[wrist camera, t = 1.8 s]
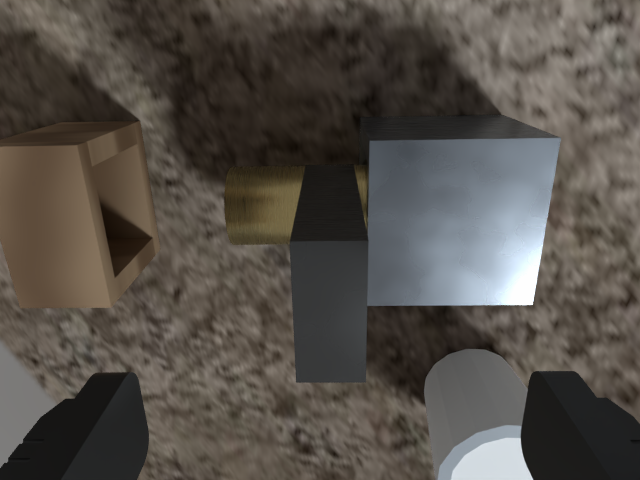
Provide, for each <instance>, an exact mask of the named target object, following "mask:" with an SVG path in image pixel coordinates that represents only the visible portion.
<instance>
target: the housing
mask: <svg viewBox="0 0 640 480" xmlns="http://www.w3.org/2000/svg"><path fill="white" fill-rule="evenodd" d="M560 140H561V138H560V137H558V136H555V135H552V134H550V133H547V132H545V131H542V130H540V129H537V128H535V127H532V126H530V125H527V124H525V123H522V122H520V121H517V120H515V119H512V118H510V117H507V116H504V115H456V116H397V117H360V143H359V165H368V166H367V221H366V230H367V235H368V240H369V246H368V294H367V306H425V305H533V299H534V293H535V287H536V281H537V275H538V269H539V264H540V258H541V252H542V246H543V240H544V234H545V228H546V222H547V217H548V211H549V205H550V199H551V193H552V187H553V181H554V175H555V169H556V164H557V158H558V152H559V146H560Z"/></svg>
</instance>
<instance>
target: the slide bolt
mask: <svg viewBox="0 0 640 480" xmlns="http://www.w3.org/2000/svg"><path fill="white" fill-rule="evenodd" d="M367 166H368V165H354V164H351V165H306V166H251V167H230V168H229V170H228V173H227V177H226V183H225V200H224V203H225V220H226V228H227V233H228V237H229V240H230V242H231V243H232V244H233V245H261V244H290V260H291V281H292V302H293V324H294V345H295V366H296V382H366V343H367V294H368V246H369V240H368V235H367V230H366V221H367Z"/></svg>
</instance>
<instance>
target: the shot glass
mask: <svg viewBox="0 0 640 480" xmlns="http://www.w3.org/2000/svg"><path fill="white" fill-rule="evenodd" d="M527 391H528V389H527V387H526V386H525V385H524V383H523V382H522V381H521V379H520V378H519V377H518V375H517V374H516V373H515V371H514V370H513V368H512V367H511V366H510V365H509V364H508V363H507V362H506V361H505V360H504V359H503V358H502V357H501V356H500V355H497V354H495V353H493V352H490V351H488V350H485V349H464V350H461V351H458V352H454V353H451V354H448V355H447V356H445V357H444V358H443V359H441V360H440V361H438V362H437V363H435V364H434V366H433V367H432V369H431V370H430V372H429V373H428V375H427V376H426V379H425V387H424V397H425V405H426V412H427V420H428V427H429V435H430V443H431V450H432V458H433V465H434V473H435V480H533V478H532V476H531V474H530V472H529V470H528V468H527V465H526V463H525V460H524V457H523V453H522V448H521V427H522V421H523V415H524V409H525V403H526V397H527Z"/></svg>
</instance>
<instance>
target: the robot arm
mask: <svg viewBox="0 0 640 480" xmlns="http://www.w3.org/2000/svg"><path fill="white" fill-rule="evenodd" d="M148 444H149V432H148V426H147V421H146V416H145V410H144V405H143V400H142V395H141V390H140V385H139V380H138V377H137V375H136V374H135V373H133V372H122V373H95V374H93V375H92V376H91V377H90V378H89V380H88V381H87V382H86V384H85V385H84V387H83V388H82V389H81V391H80V392H79V393H78V395H77V396H76V397H75V399H65V400H63V401H62V402H61V403H59V404H58V405H57V406H55V407H54V408H53V409H51V410H50V411H49V412H47V413H46V414H44V415H43V416H42V417H41V418H40V419H39V420H38V421H37V423H36V424H35V425H34V426H33V428H32V429H31V430H30V431H29V433H28V434H27V435H26V436H25V438H24V439H23V443H22V444H19V445H18V447H17V448H16V449H15V450H14V452H13V453H12V454H11V455H10V457H9V458H8V462H7V463H4V464H3V466H2V467H1V468H0V480H137V478H138V476H139V474H140V472H141V469H142V467H143V465H144V462H145V459H146V456H147V451H148ZM521 448H522V453H523V457H524V460H525V463H526V465H527V468H528V470H529V472H530V474H531V476H532V478H533V480H640V424H639V423H638V421H637V420H636V419H635V418H634V417H633V416H632V415H630V414H629V413H627V412H626V411H625V410H623V409H622V408H620V407H619V406H618V405H616V404H615V403H613V402H612V401H611V400H609V399H608V398H597V397H596V396H595V395H594V393H593V392H592V391H591V389H590V388H589V387H588V386H587V384H586V383H585V382H584V380H583V379H582V378H581V377H580V375H579V374H577V373H576V372H574V371H535V372H533V373H532V375H531V377H530V380H529V386H528V391H527V397H526V403H525V409H524V415H523V421H522V427H521Z"/></svg>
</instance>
